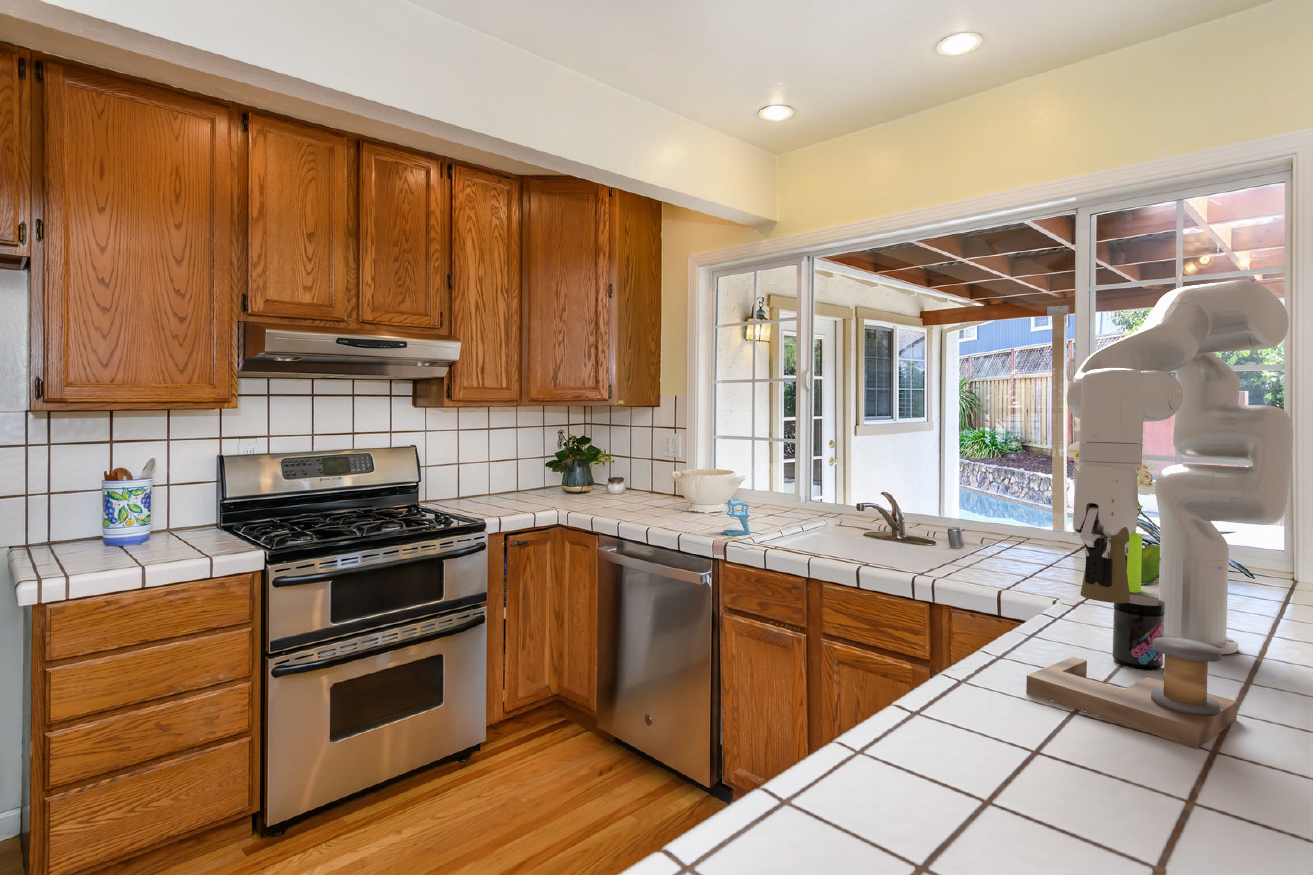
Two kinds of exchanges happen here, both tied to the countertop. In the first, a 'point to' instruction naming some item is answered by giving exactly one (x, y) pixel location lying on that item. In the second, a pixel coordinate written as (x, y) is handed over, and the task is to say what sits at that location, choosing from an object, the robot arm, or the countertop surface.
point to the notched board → (1148, 694)
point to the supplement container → (1138, 632)
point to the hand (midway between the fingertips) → (1105, 581)
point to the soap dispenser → (1134, 561)
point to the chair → (741, 515)
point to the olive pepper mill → (1119, 574)
